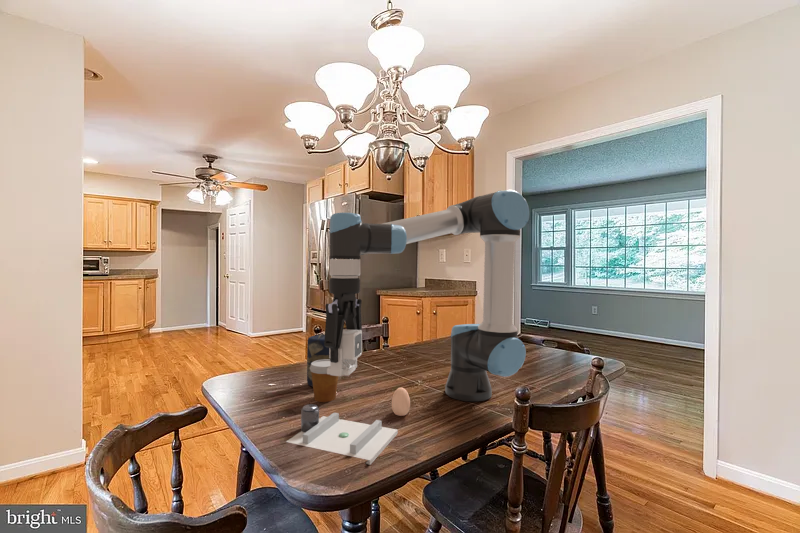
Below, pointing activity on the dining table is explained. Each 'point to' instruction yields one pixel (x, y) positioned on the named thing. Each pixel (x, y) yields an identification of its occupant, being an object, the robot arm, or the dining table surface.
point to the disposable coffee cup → (323, 381)
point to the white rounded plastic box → (349, 349)
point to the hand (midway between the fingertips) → (344, 370)
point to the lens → (309, 417)
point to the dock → (347, 437)
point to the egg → (400, 402)
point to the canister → (315, 353)
